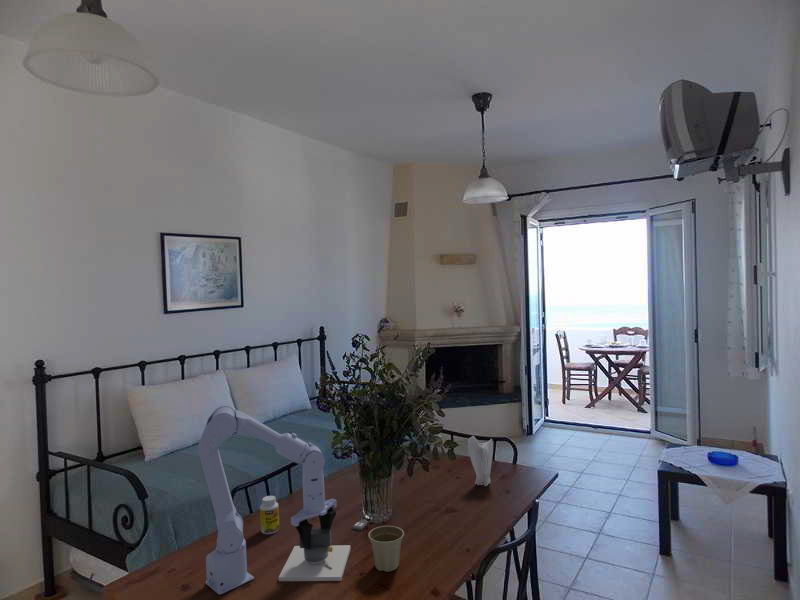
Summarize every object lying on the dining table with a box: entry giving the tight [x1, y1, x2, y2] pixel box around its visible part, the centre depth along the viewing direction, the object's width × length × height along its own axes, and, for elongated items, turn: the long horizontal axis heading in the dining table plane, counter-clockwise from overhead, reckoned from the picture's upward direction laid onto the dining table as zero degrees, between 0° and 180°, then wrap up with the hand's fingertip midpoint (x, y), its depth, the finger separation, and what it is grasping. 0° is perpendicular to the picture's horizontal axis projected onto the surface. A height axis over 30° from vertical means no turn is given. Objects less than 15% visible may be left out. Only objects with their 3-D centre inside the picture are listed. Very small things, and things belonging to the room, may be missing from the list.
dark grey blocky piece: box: [299, 527, 333, 562], centre depth 138 cm, size 8×6×6 cm
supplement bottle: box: [259, 495, 280, 535], centre depth 158 cm, size 6×6×10 cm
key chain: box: [351, 519, 369, 531], centre depth 162 cm, size 13×4×2 cm, turn 156°
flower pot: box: [367, 525, 405, 572], centre depth 135 cm, size 9×9×9 cm
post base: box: [278, 544, 352, 582], centre depth 138 cm, size 16×16×2 cm
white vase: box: [467, 435, 494, 487], centre depth 189 cm, size 8×8×18 cm
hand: (316, 542), depth 138 cm, fingers closed on dark grey blocky piece, 6 cm apart
